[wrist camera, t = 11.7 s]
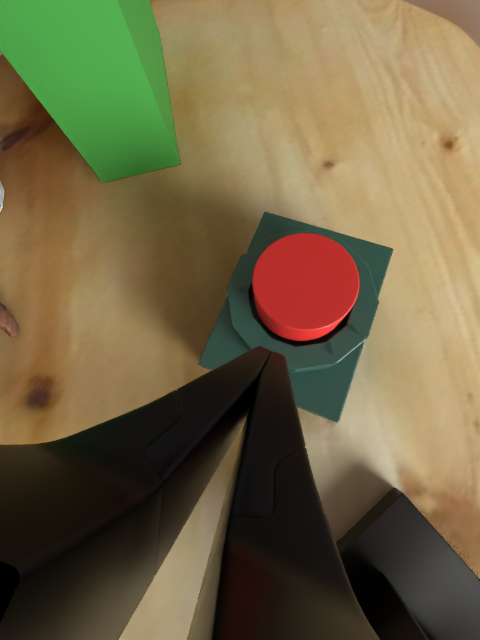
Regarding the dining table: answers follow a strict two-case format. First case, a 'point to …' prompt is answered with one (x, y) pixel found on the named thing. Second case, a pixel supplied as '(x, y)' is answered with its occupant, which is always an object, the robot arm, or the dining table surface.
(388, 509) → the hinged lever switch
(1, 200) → the ball-headed pin
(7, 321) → the pottery mug
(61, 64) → the hardback book
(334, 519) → the dining table surface
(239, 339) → the green boxy piece
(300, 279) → the stop button
